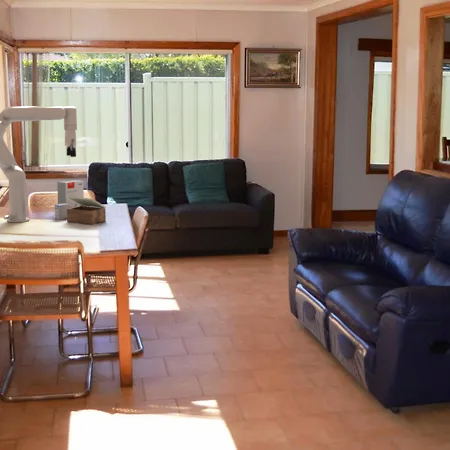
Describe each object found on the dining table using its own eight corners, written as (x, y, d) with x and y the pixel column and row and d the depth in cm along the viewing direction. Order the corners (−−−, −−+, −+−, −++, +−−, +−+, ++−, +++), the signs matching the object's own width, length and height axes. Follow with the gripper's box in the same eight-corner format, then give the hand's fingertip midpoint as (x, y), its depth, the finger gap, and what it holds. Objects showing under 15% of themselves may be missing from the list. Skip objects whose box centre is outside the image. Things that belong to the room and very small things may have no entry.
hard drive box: (65, 214, 448) (64, 182, 444) (57, 213, 452) (56, 181, 449) (84, 211, 460) (83, 180, 456) (76, 210, 465) (75, 179, 461)
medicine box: (65, 217, 438) (64, 203, 437) (69, 218, 435) (69, 204, 434) (54, 218, 432) (54, 204, 431) (59, 219, 429) (58, 205, 428)
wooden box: (91, 225, 413) (90, 211, 412) (67, 221, 422) (66, 208, 421) (105, 221, 424) (105, 208, 423) (82, 218, 433) (81, 205, 432)
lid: (92, 200, 411) (92, 198, 412) (67, 197, 421) (68, 196, 421) (105, 208, 423) (105, 206, 423) (81, 205, 432) (82, 204, 432)
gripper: (60, 127, 435) (61, 155, 438) (67, 128, 419) (68, 157, 422) (73, 126, 438) (74, 154, 441) (80, 128, 423) (81, 157, 426)
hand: (71, 156), depth 432 cm, fingers open, 9 cm apart
